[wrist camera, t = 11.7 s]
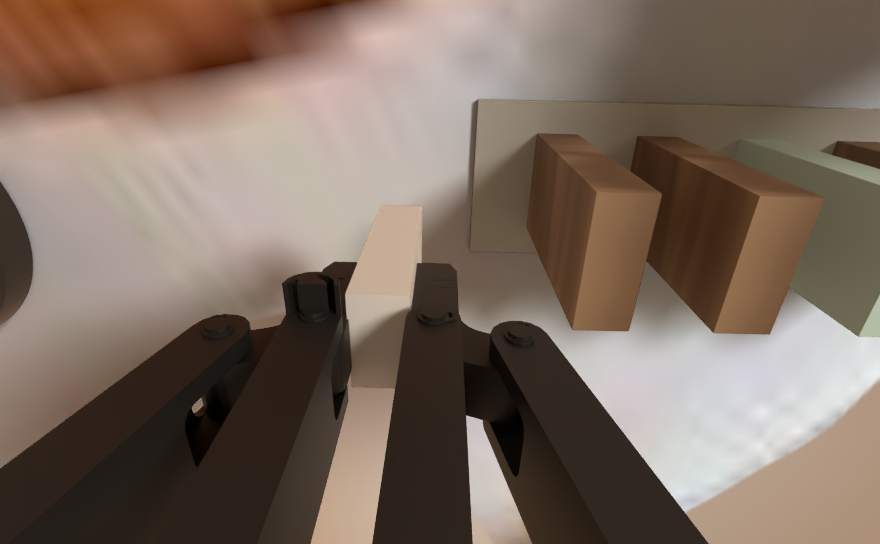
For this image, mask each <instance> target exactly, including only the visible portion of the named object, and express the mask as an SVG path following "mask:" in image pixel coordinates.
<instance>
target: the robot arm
mask: <svg viewBox="0 0 880 544" xmlns="http://www.w3.org/2000/svg"><path fill="white" fill-rule="evenodd" d="M31 277H32V254H31V248H30V242H29V239H28V235H27V232H26V229H25V226H24V223H23V221H22V219H21V217H20V214H19V212H18V210H17V208H16V206H15V204H14V203H13V201H12V199H11V198H10V196H9V194H8V193H7V191H6V190H5V188H4V187H3V185H2V184H1V182H0V324H1V323H2V322H4V321H5V320H7V319H8V318H9V317H10V316H12V315H13V314H14V313H15V312H16V311H17V309H18V308H19V307H20V305H21V304H22V302H23V301H24V299H25V297H26V295H27V292H28V290H29V286H30V283H31ZM282 286H283V294H284V301H285V308H286V316H285V317H284V319H283V321H282V323H281V324H280V325H278V326H274V327H269V328H264V329H256V330H251V328H250V323H249V321H248V320H247V319H246V318H245V317H242V316H239V315H228V314H222V315H216V316H212V317H210V318H207V319H204V320H202V321H200V322H198V323H196V324H195V325H193V326H192V327H190V328H189V329H188V330H186V331H185V332H184V333H182V334H181V335H180V336H178V337H177V338H175V339H174V340H173V341H171V342H170V343H169V344H167V345H166V346H165V347H163V348H162V349H161V350H159V351H158V352H157V353H155V354H154V355H153V356H151V357H150V358H149V359H147V360H146V361H145V362H143V363H142V364H140V365H139V366H138V367H136V368H135V369H134V370H132V371H131V372H130V373H128V374H127V375H126V376H124V377H123V378H122V379H120V380H119V381H118V382H116V383H115V384H114V385H112V386H111V387H110V388H108V389H107V390H105V391H104V392H103V393H101V394H100V395H99V396H97V397H96V398H95V399H93V400H92V401H91V402H89V403H88V404H87V405H85V406H84V407H83V408H81V409H80V410H79V411H77V412H76V413H75V414H73V415H72V416H70V417H69V418H68V419H66V420H65V421H64V422H62V423H61V424H60V425H58V426H57V427H56V428H54V429H53V430H52V431H50V432H49V433H48V434H46V435H45V436H44V437H42V438H41V439H40V440H38V441H37V442H35V443H34V444H33V445H31V446H30V447H29V448H27V449H26V450H25V451H23V452H22V453H21V454H19V455H18V456H17V457H15V458H14V459H13V460H11V461H10V462H9V463H7V464H6V465H4V466H3V467H2V468H0V544H310V543H311V539H312V535H313V532H314V528H315V524H316V520H317V517H318V513H319V509H320V505H321V502H322V498H323V494H324V490H325V487H326V483H327V478H328V475H329V471H330V467H331V464H332V460H333V456H334V453H335V449H336V445H337V441H338V437H339V434H340V430H341V426H342V422H343V419H344V414H345V411H346V407H347V404H348V388H347V383H348V379H349V376H350V373H351V383H352V387H366V388H395V394H394V400H393V407H392V414H391V421H390V428H389V434H388V441H387V448H386V454H385V461H384V468H383V474H382V482H381V488H380V495H379V502H378V509H377V515H376V522H375V529H374V535H373V543H372V544H473V543H472V524H471V505H470V485H469V466H468V446H467V427H466V415H467V416H471V417H474V418H478V419H481V420H483V426H484V430H485V432H486V435H487V437H488V439H489V442H490V444H491V446H492V449H493V451H494V454H495V456H496V458H497V461H498V463H499V465H500V468H501V470H502V473H503V475H504V477H505V480H506V482H507V484H508V487H509V489H510V492H511V494H512V496H513V499H514V501H515V503H516V506H517V508H518V511H519V513H520V515H521V518H522V520H523V522H524V525H525V527H526V530H527V532H528V534H529V537H530V539H531V541H532V544H708V542H707V541H706V540H705V538H704V537H703V536H702V535H701V533H700V532H699V531H698V529H697V528H696V527H695V526H694V524H693V523H692V522H691V520H690V519H689V518H688V516H687V515H686V514H685V512H684V511H683V510H682V509H681V507H680V506H679V505H678V503H677V502H676V501H675V499H674V498H673V497H672V496H671V494H670V493H669V492H668V490H667V489H666V488H665V486H664V485H663V484H662V483H661V481H660V480H659V479H658V477H657V476H656V475H655V473H654V472H653V471H652V470H651V468H650V467H649V466H648V464H647V463H646V462H645V460H644V459H643V458H642V456H641V455H640V454H639V453H638V451H637V450H636V449H635V447H634V446H633V445H632V443H631V442H630V441H629V440H628V438H627V437H626V436H625V434H624V433H623V432H622V430H621V429H620V428H619V427H618V425H617V424H616V423H615V421H614V420H613V419H612V417H611V416H610V415H609V414H608V412H607V411H606V410H605V408H604V407H603V406H602V404H601V403H600V402H599V401H598V399H597V398H596V397H595V395H594V394H593V393H592V391H591V390H590V389H589V388H588V386H587V385H586V384H585V382H584V381H583V380H582V378H581V377H580V376H579V375H578V373H577V372H576V371H575V369H574V368H573V367H572V365H571V364H570V363H569V362H568V360H567V359H566V358H565V356H564V355H563V354H562V352H561V351H560V350H559V349H558V347H557V346H556V345H555V343H554V342H553V341H552V339H551V338H550V337H549V336H548V334H547V333H546V332H545V331H543V330H542V329H541V328H540V327H538V326H535V325H533V324H531V323H527V322H523V321H508V322H504V323H500V324H498V325H497V326H495V327H494V328H493V330H492V332H491V334H489V333H484V332H481V331H477V330H474V329H472V328H470V327H468V326H467V325H466V324H464V323H463V322H462V321H461V318H460V315H459V310H458V290H457V271H456V270H455V269H454V268H453V267H452V266H451V265H450V264H436V263H422V206H398V205H380V207H379V210H378V212H377V215H376V217H375V220H374V222H373V225H372V227H371V230H370V232H369V235H368V238H367V240H366V243H365V245H364V248H363V250H362V253H361V255H360V258H359V260H358V262H333V263H332V264H330V265H329V266H327V267H326V268H324V269H323V271H322V272H306V273H302V274H297V275H295V276H292V277H290V278H288V279H287V280H286V281H284V282H283V283H282ZM200 398H202V402H203V405H204V406H203V407H202V408H201V409H200V410H199V411H197V412H196V413H193V412H192V408H191V407H192V406H193V405H194V404H195V403H196V402H197V401H198V400H199V399H200Z"/></svg>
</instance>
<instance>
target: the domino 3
mask: <svg viewBox="0 0 880 544" xmlns="http://www.w3.org/2000/svg"><path fill="white" fill-rule="evenodd" d="M832 155H833V156H837V157H840V158H844V159H847V160H850V161H854V162H857V163H860V164H864V165H867V166H871V167H874V168H877V169H880V143H879V142H859V141H837V143H836V146H835V148H834V151H833V153H832Z"/></svg>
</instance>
